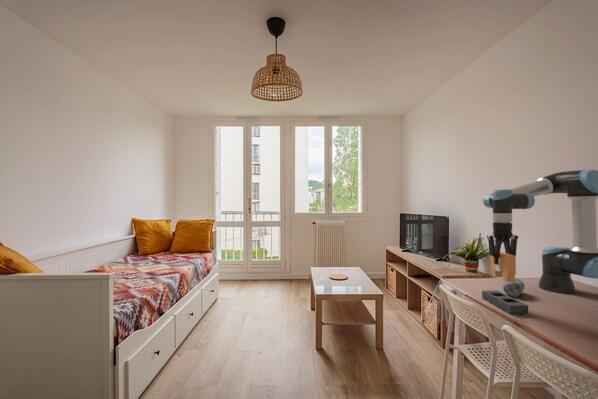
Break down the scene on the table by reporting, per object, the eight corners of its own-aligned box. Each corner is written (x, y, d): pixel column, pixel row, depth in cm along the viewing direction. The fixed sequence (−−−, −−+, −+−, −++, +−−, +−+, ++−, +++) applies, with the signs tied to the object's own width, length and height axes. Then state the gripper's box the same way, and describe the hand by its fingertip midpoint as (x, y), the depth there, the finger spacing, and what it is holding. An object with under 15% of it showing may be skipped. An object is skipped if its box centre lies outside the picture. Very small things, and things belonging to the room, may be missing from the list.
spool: (525, 294, 141) (514, 274, 146) (504, 298, 147) (495, 279, 152) (532, 294, 149) (522, 276, 154) (512, 299, 155) (503, 281, 160)
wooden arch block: (498, 275, 141) (497, 250, 141) (515, 282, 129) (515, 255, 129) (491, 275, 141) (490, 251, 141) (508, 282, 129) (507, 255, 129)
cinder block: (498, 298, 145) (497, 290, 145) (528, 314, 125) (528, 305, 125) (482, 298, 145) (482, 290, 145) (509, 314, 125) (509, 305, 125)
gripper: (514, 221, 139) (514, 269, 139) (479, 221, 139) (480, 269, 139) (526, 222, 131) (526, 273, 131) (489, 222, 132) (490, 273, 132)
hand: (502, 271), depth 135 cm, fingers closed on wooden arch block, 3 cm apart
